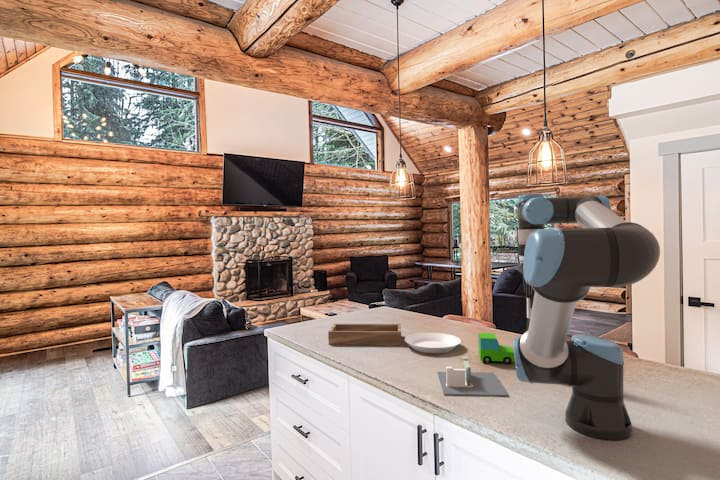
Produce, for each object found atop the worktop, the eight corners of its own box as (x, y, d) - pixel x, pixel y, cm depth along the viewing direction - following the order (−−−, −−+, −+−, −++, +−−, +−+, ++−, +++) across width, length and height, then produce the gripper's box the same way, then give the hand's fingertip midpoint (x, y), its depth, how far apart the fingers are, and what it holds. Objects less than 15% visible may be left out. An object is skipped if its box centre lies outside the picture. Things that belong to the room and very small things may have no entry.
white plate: (401, 354, 171) (401, 346, 171) (408, 338, 195) (408, 331, 195) (461, 357, 165) (461, 349, 165) (460, 341, 189) (460, 333, 189)
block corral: (401, 344, 184) (401, 332, 184) (328, 344, 187) (328, 331, 187) (401, 335, 200) (400, 324, 200) (333, 335, 203) (333, 323, 203)
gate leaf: (470, 383, 135) (470, 366, 134) (466, 383, 135) (465, 365, 135) (467, 372, 144) (467, 356, 144) (463, 372, 145) (462, 356, 144)
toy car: (516, 365, 153) (516, 340, 153) (481, 364, 156) (480, 338, 156) (512, 357, 163) (512, 333, 163) (478, 356, 166) (478, 332, 166)
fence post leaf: (471, 388, 132) (471, 368, 132) (447, 387, 133) (446, 368, 133) (470, 386, 134) (470, 366, 134) (446, 385, 135) (446, 366, 135)
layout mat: (508, 396, 125) (508, 394, 125) (444, 395, 127) (444, 393, 127) (493, 373, 145) (493, 372, 145) (437, 373, 147) (437, 371, 147)
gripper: (551, 243, 119) (552, 322, 119) (536, 242, 132) (537, 313, 132) (525, 244, 119) (526, 322, 120) (513, 242, 132) (513, 313, 133)
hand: (532, 317), depth 126 cm, fingers closed
